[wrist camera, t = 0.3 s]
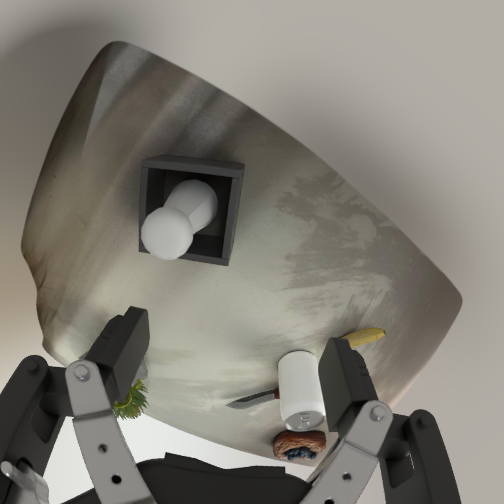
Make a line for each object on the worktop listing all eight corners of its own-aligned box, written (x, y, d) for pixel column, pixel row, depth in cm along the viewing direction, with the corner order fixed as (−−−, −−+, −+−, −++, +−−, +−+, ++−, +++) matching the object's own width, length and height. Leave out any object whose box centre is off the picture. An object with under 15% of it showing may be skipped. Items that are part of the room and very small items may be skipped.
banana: (374, 313, 39) (383, 329, 35) (380, 322, 39) (388, 338, 36) (320, 346, 41) (324, 363, 38) (327, 354, 42) (331, 371, 38)
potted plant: (133, 332, 37) (180, 409, 38) (119, 326, 47) (157, 390, 48) (66, 367, 30) (122, 446, 31) (68, 353, 40) (109, 417, 41)
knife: (227, 403, 48) (226, 415, 45) (223, 399, 47) (222, 411, 45) (319, 376, 44) (321, 389, 42) (316, 372, 44) (319, 384, 41)
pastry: (310, 449, 57) (313, 467, 52) (267, 446, 56) (267, 465, 51) (330, 430, 53) (333, 450, 47) (282, 427, 52) (283, 448, 46)
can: (278, 376, 44) (281, 434, 33) (277, 350, 42) (281, 412, 31) (315, 373, 44) (325, 430, 33) (317, 347, 41) (331, 407, 30)
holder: (161, 154, 30) (141, 159, 25) (245, 164, 31) (242, 170, 25) (156, 233, 34) (138, 251, 29) (233, 244, 35) (228, 266, 29)
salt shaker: (189, 167, 31) (148, 187, 19) (230, 193, 32) (212, 228, 20) (166, 207, 33) (119, 248, 21) (204, 231, 34) (176, 284, 22)
